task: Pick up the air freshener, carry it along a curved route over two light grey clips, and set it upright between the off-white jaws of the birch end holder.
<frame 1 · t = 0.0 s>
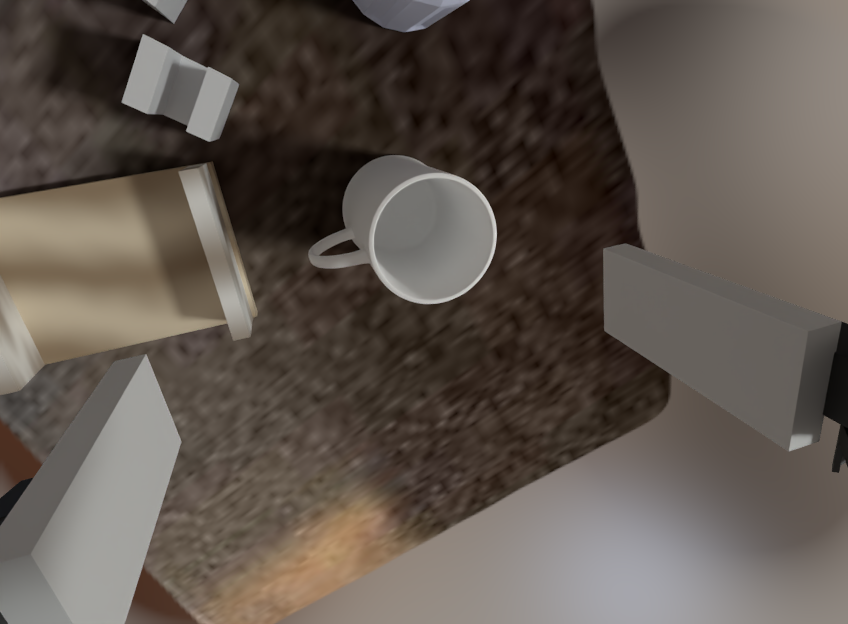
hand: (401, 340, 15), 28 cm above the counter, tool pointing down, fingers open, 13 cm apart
mug: (375, 213, 41), on the counter
end holder: (118, 264, 38), on the counter
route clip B: (192, 94, 35), on the counter
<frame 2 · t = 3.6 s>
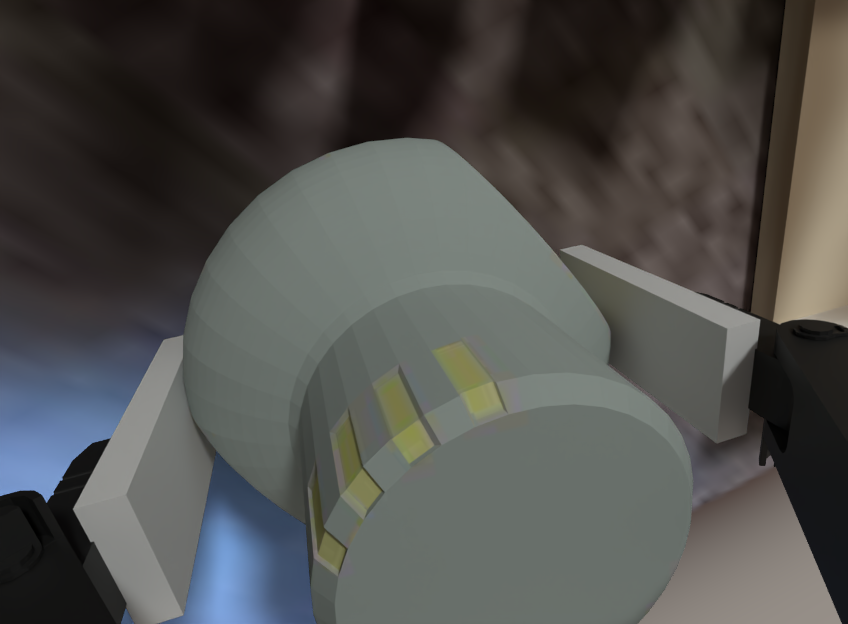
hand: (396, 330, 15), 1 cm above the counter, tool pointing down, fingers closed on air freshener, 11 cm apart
air freshener: (388, 315, 16), on the counter, touching gripper
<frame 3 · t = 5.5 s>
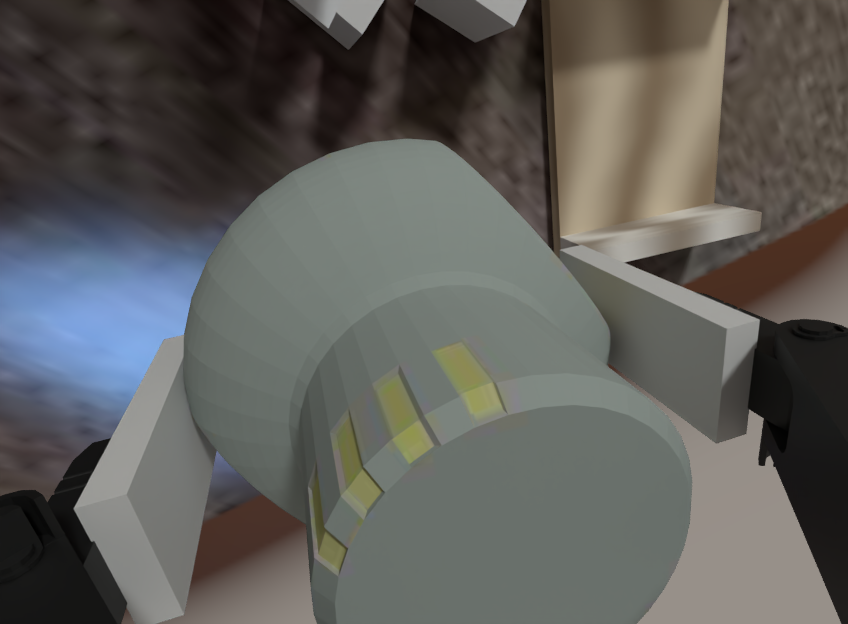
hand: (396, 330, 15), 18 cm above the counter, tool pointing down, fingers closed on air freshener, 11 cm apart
end holder: (631, 111, 33), on the counter
air freshener: (388, 315, 16), point 16 cm above the counter, touching gripper
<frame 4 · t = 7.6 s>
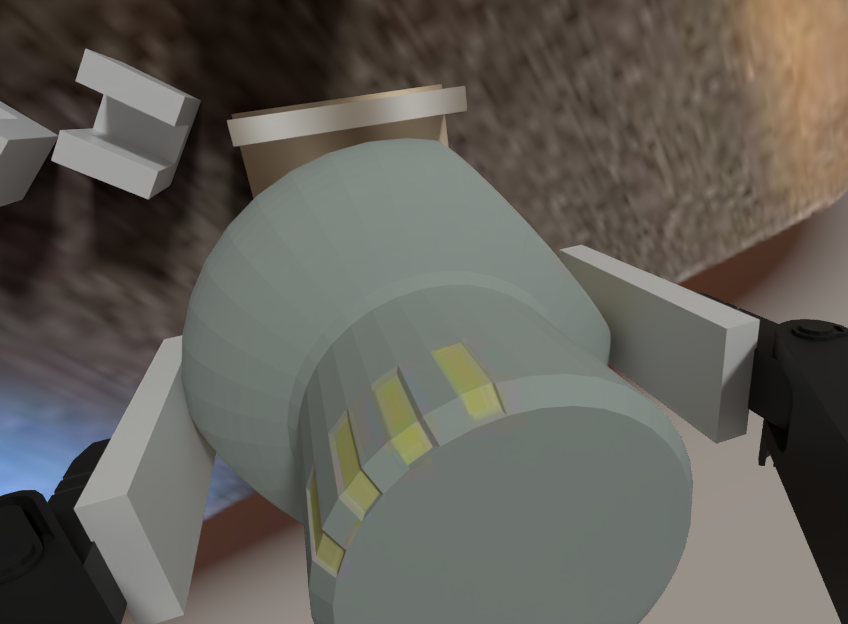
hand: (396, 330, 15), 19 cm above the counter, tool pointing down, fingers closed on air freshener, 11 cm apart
end holder: (364, 240, 33), on the counter
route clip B: (147, 126, 28), on the counter
air freshener: (387, 315, 16), point 17 cm above the counter, touching gripper
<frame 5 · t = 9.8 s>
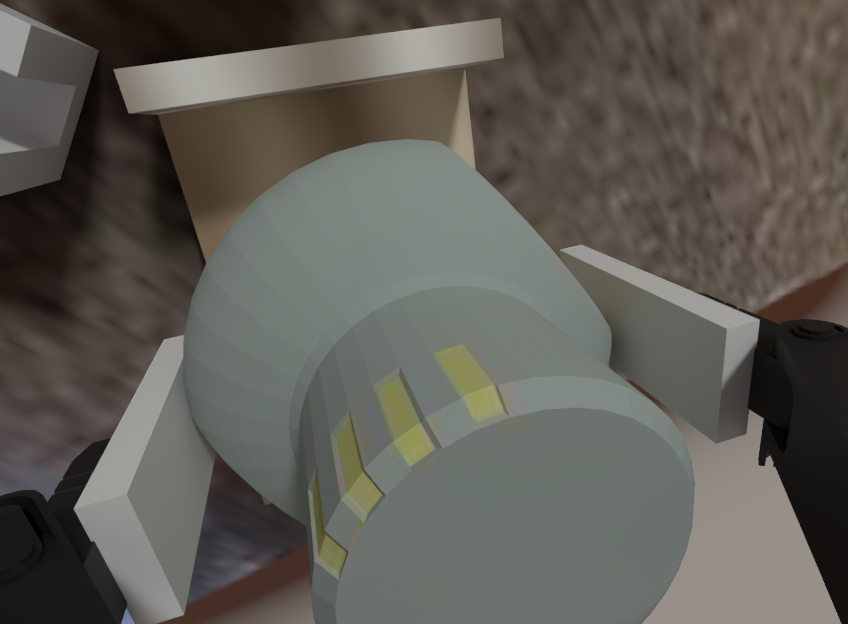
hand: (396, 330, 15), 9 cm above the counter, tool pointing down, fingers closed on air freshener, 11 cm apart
end holder: (352, 255, 23), on the counter
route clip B: (16, 90, 18), on the counter
air freshener: (388, 316, 16), point 8 cm above the counter, touching gripper
when the fingers open (3 cm above the counter, at t = 11.5 s): air freshener drops 1 cm, resting on end holder.
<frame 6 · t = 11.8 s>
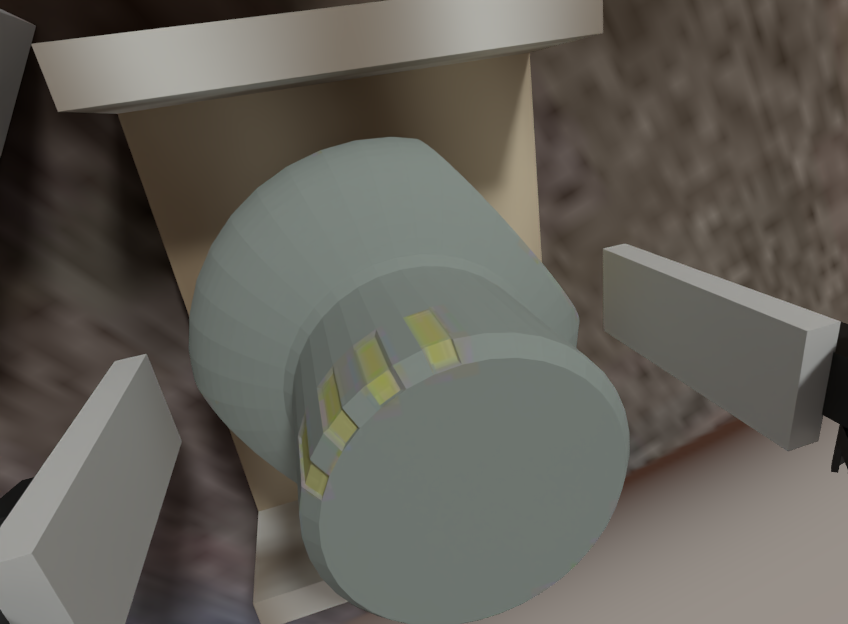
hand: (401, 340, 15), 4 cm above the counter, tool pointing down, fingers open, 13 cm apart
end holder: (376, 294, 18), on the counter
air freshener: (377, 301, 18), point 1 cm above the counter, touching end holder
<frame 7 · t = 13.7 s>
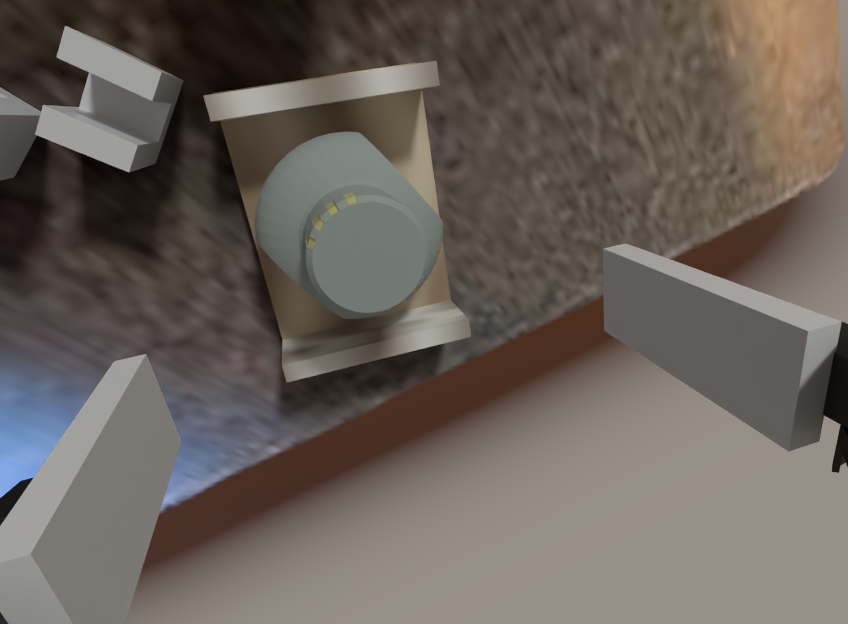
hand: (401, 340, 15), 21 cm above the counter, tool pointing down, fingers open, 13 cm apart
end holder: (346, 218, 34), on the counter
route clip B: (132, 106, 29), on the counter
air freshener: (346, 220, 33), point 1 cm above the counter, touching end holder
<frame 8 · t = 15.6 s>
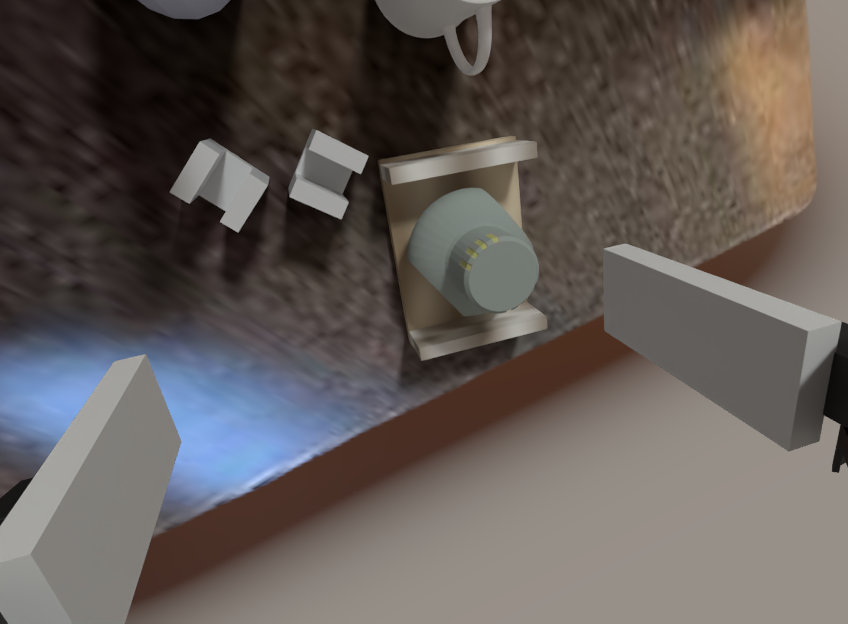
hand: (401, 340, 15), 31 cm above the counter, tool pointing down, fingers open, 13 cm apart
mug: (426, 0, 39), on the counter
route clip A: (227, 179, 40), on the counter
end holder: (457, 243, 47), on the counter
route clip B: (323, 169, 42), on the counter
air freshener: (459, 245, 46), point 1 cm above the counter, touching end holder
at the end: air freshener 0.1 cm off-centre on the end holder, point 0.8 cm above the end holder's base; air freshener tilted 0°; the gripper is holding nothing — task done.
